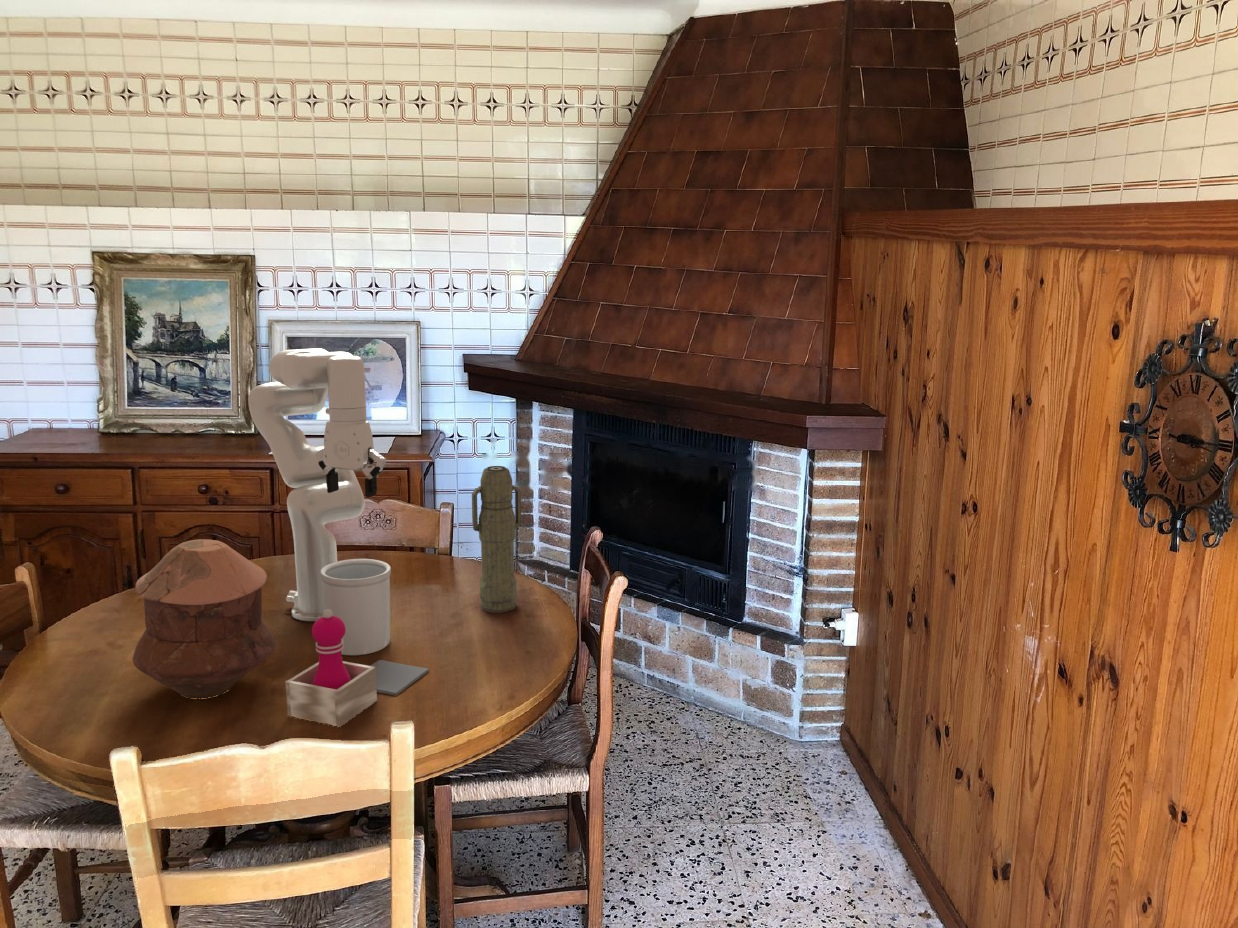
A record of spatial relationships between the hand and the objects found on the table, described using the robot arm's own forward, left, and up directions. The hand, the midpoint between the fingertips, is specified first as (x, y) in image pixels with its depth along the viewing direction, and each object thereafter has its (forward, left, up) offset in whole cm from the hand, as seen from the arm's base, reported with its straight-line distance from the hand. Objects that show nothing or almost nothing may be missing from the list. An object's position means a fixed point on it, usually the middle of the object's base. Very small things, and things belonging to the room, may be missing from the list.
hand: (351, 493), depth 203 cm
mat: (+16, -13, -34) cm, 40 cm away
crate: (+14, -28, -34) cm, 46 cm away
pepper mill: (+14, -28, -34) cm, 47 cm away
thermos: (+18, +32, -34) cm, 50 cm away
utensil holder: (0, 0, -35) cm, 35 cm away
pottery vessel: (-14, -30, -34) cm, 48 cm away
